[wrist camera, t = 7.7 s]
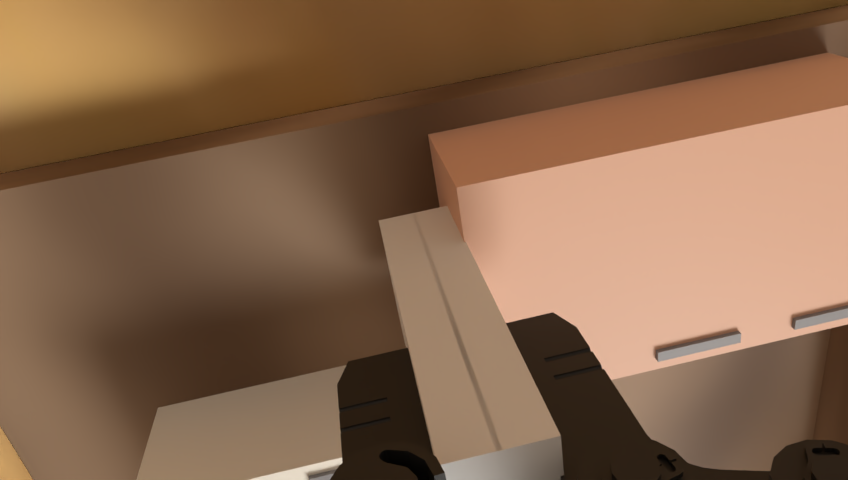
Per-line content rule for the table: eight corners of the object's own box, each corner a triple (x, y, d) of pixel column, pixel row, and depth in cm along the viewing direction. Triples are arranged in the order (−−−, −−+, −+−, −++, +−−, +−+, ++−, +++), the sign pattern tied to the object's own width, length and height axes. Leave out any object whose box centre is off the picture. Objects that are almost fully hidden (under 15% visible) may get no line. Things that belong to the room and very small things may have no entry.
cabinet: (458, 327, 16) (490, 412, 13) (427, 134, 14) (457, 190, 11) (802, 249, 17) (898, 315, 14) (827, 52, 14) (950, 85, 12)
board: (173, 657, 22) (157, 749, 19) (-96, 192, 14) (-180, 252, 11) (795, 500, 23) (852, 567, 21) (875, -1, 15) (979, 16, 13)
